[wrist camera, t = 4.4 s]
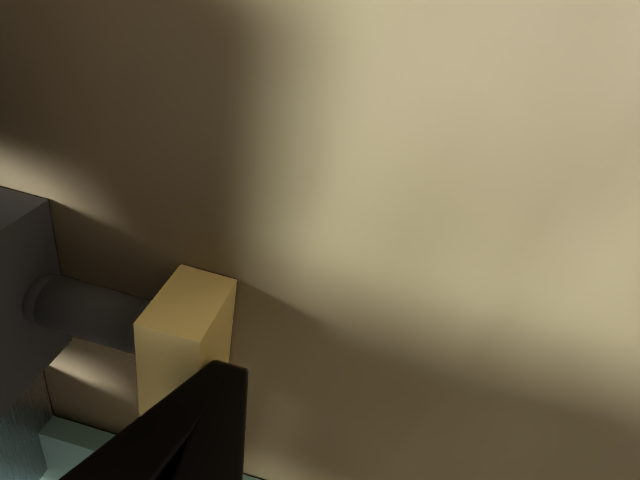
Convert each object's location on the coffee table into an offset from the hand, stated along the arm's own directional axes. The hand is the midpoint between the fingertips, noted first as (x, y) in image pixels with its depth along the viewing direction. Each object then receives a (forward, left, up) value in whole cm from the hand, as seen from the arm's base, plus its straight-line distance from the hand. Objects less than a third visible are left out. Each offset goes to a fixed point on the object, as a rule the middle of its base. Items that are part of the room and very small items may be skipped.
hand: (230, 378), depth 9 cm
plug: (+5, 0, -1) cm, 5 cm away
